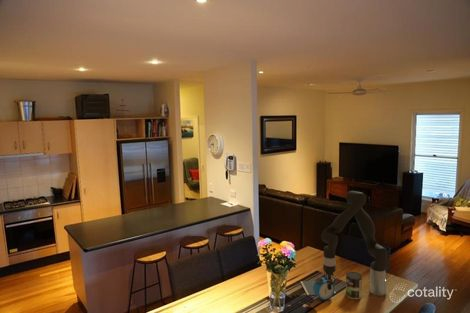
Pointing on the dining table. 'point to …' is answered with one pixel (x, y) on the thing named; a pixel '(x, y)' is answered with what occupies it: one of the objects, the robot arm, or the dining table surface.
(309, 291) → the mat
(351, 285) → the coffee can
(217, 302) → the dining table surface
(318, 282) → the alarm clock
